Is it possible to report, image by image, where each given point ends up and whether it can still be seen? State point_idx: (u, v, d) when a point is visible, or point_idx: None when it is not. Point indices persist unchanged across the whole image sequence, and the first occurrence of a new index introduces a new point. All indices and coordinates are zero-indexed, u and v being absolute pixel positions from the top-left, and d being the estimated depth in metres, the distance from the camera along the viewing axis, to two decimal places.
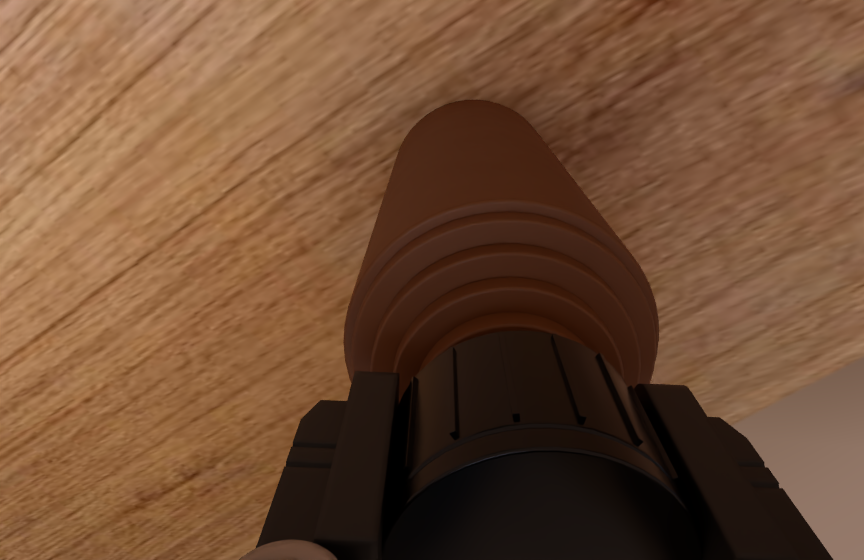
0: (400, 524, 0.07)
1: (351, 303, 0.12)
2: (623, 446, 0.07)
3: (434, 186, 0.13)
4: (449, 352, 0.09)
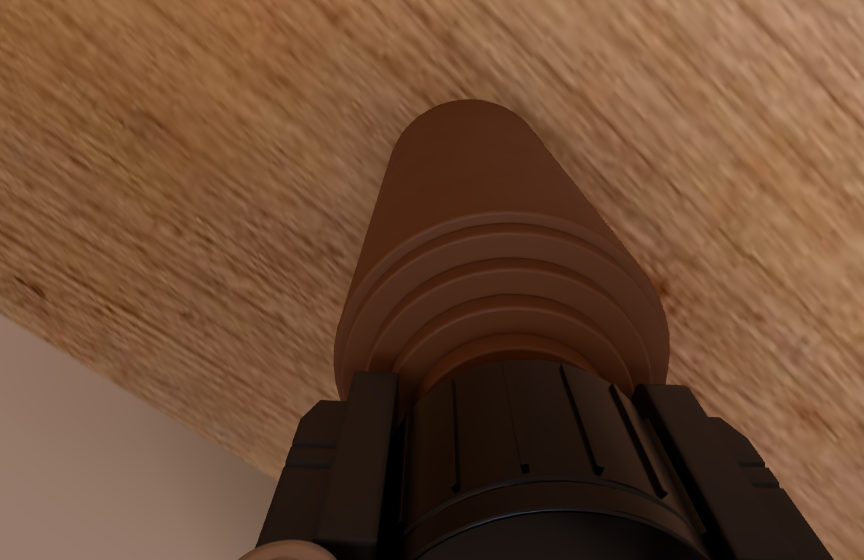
0: None
1: (520, 211, 0.11)
2: (646, 501, 0.06)
3: None
4: (447, 384, 0.08)
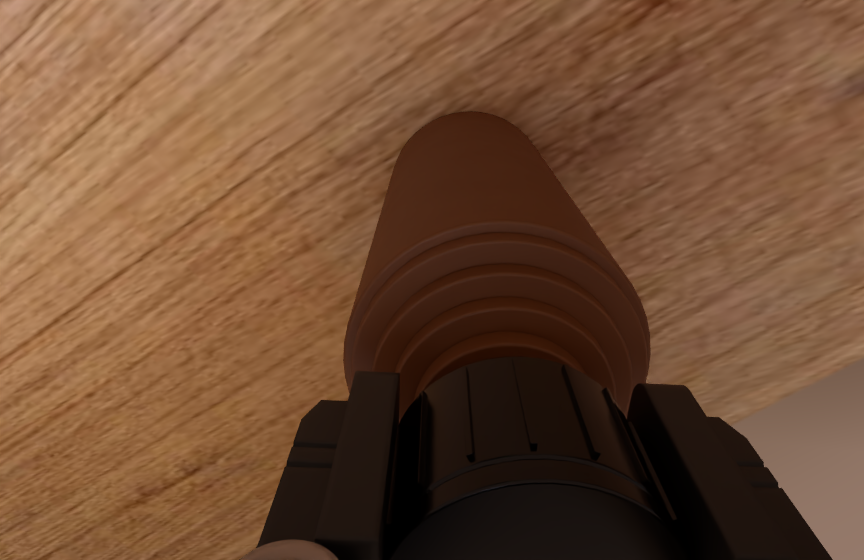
0: None
1: (350, 322, 0.13)
2: None
3: (430, 205, 0.14)
4: None
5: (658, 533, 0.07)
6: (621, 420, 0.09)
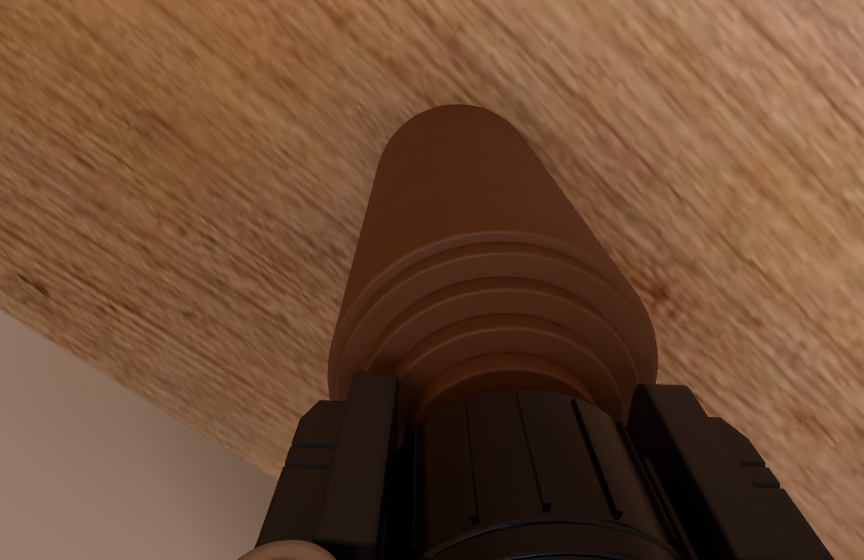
0: None
1: (512, 230, 0.11)
2: None
3: (601, 245, 0.13)
4: None
5: None
6: (640, 463, 0.08)
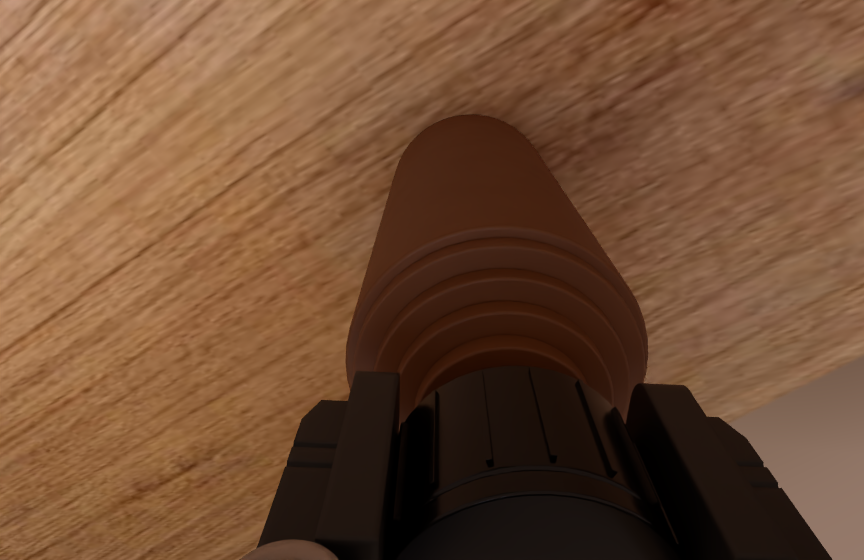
0: (535, 500, 0.07)
1: (353, 323, 0.13)
2: None
3: (432, 209, 0.14)
4: (581, 384, 0.09)
5: None
6: None
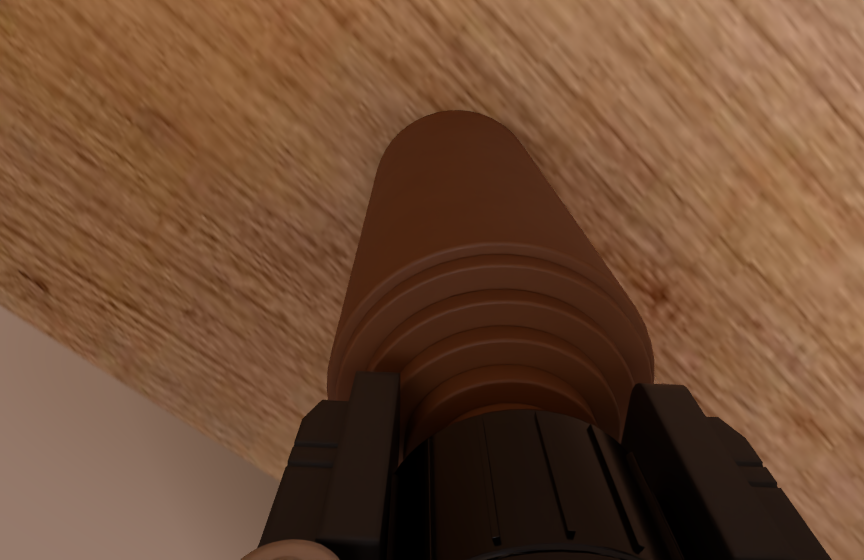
0: None
1: (512, 243, 0.11)
2: None
3: (599, 255, 0.13)
4: (595, 430, 0.08)
5: None
6: None
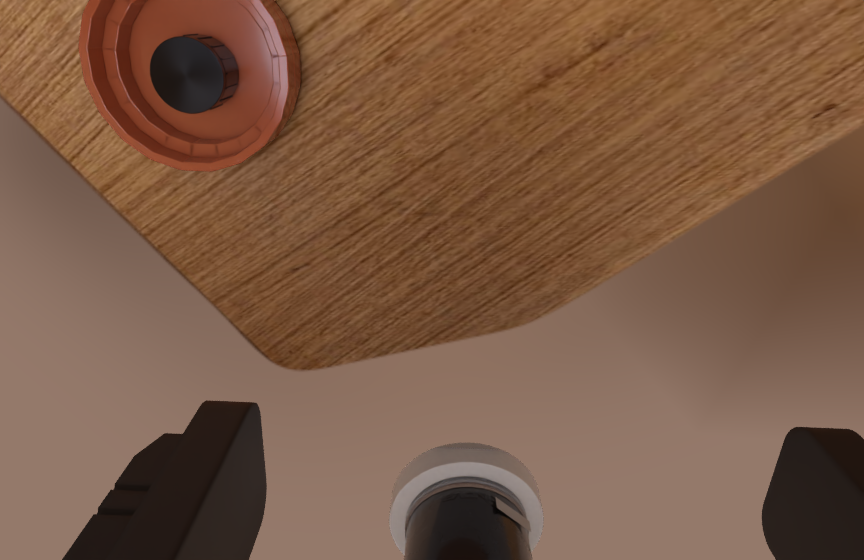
0: (151, 68, 0.33)
1: None
2: (190, 37, 0.33)
3: None
4: None
5: (190, 110, 0.34)
6: None
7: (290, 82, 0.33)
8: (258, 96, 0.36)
